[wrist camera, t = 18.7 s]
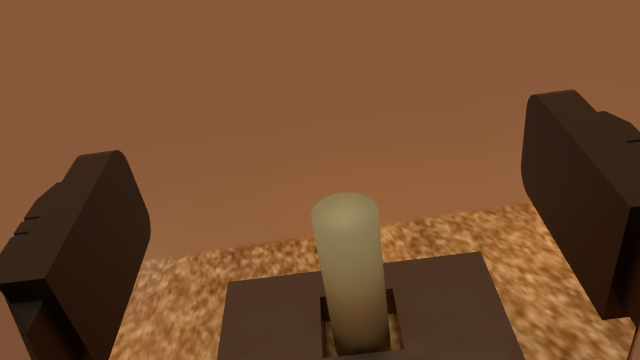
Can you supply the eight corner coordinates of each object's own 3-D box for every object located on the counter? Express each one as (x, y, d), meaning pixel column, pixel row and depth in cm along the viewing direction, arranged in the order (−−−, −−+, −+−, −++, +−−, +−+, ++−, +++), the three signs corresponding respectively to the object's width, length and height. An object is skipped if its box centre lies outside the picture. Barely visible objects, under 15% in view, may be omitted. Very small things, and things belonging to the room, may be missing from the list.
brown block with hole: (479, 276, 48) (480, 251, 46) (526, 398, 38) (530, 372, 36) (235, 305, 49) (228, 282, 47) (220, 431, 39) (209, 408, 37)
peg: (401, 341, 43) (391, 205, 35) (368, 380, 40) (349, 243, 32) (358, 316, 46) (339, 184, 38) (325, 352, 43) (297, 219, 35)
